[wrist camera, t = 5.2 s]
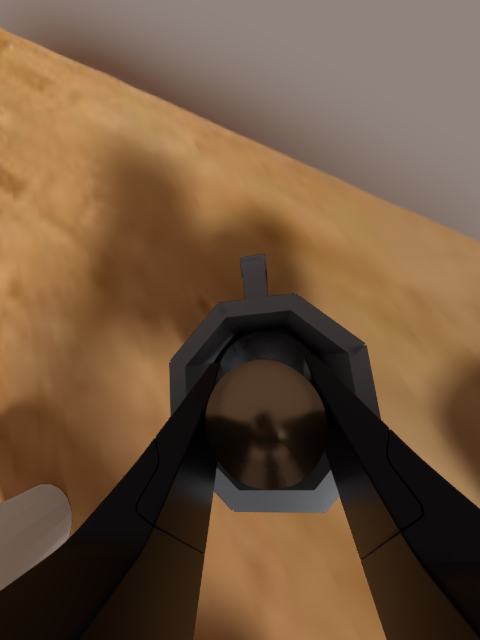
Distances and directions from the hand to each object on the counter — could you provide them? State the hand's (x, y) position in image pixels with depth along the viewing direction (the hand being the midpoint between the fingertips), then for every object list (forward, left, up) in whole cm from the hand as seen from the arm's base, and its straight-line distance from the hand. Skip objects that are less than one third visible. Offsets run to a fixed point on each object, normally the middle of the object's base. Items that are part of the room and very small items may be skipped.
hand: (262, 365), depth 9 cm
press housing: (-1, -1, -8) cm, 9 cm away
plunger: (-1, -1, -6) cm, 6 cm away
